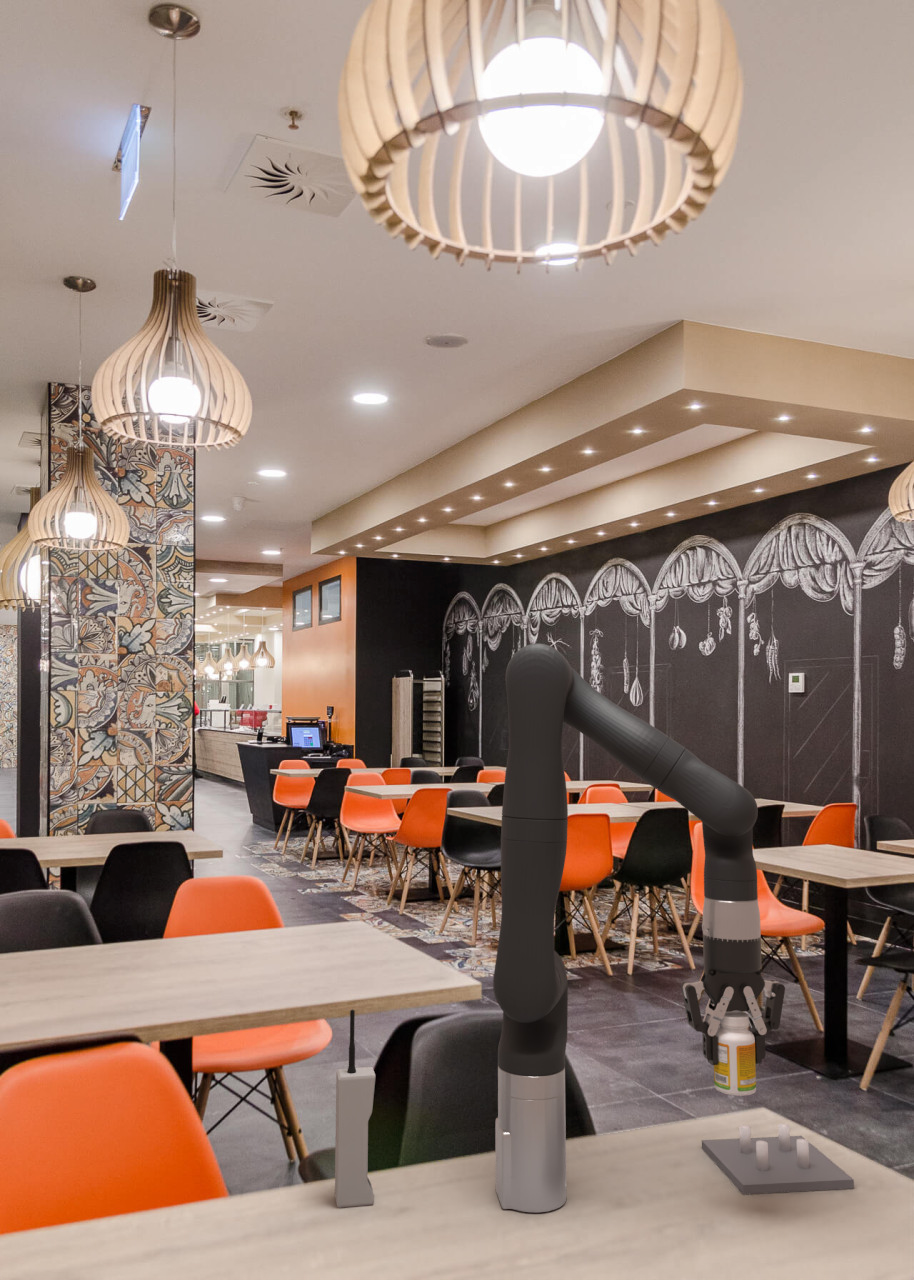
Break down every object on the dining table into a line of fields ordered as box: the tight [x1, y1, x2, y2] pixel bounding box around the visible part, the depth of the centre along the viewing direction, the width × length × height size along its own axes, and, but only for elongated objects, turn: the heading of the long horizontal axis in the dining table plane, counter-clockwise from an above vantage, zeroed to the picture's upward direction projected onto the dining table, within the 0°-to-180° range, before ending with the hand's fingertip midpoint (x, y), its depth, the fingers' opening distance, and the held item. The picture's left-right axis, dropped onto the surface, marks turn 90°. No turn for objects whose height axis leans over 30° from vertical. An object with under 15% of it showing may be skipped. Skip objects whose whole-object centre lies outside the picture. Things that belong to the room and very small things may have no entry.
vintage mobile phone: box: [334, 1009, 377, 1209], centre depth 136 cm, size 4×5×25 cm
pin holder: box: [701, 1122, 855, 1195], centre depth 146 cm, size 16×16×5 cm
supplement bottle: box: [713, 1010, 757, 1097], centre depth 133 cm, size 5×5×10 cm
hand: (734, 1062), depth 133 cm, fingers closed on supplement bottle, 5 cm apart
